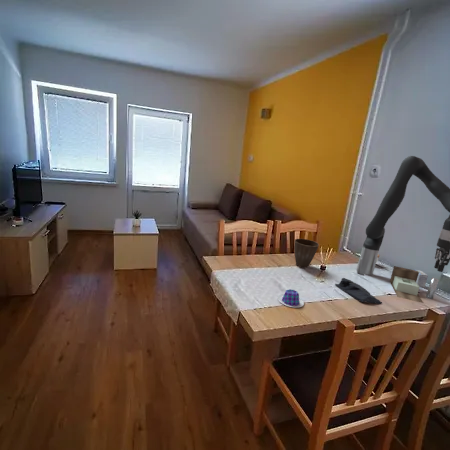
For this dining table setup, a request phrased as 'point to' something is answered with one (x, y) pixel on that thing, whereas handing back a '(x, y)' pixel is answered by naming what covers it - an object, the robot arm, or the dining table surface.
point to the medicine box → (421, 278)
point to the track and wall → (408, 275)
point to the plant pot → (304, 252)
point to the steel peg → (432, 288)
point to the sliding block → (405, 285)
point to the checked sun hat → (291, 299)
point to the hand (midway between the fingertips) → (438, 269)
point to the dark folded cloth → (357, 291)
